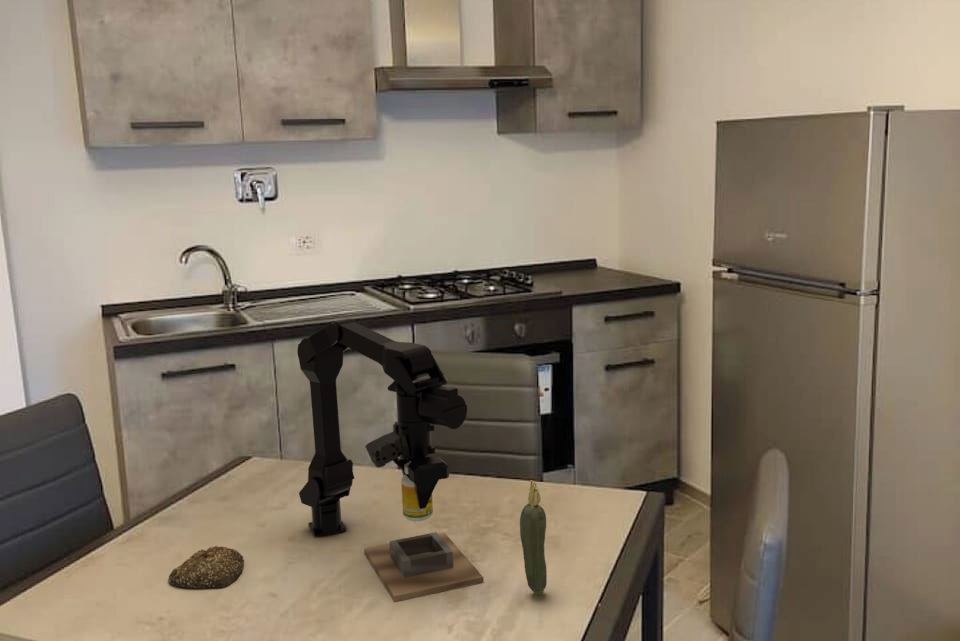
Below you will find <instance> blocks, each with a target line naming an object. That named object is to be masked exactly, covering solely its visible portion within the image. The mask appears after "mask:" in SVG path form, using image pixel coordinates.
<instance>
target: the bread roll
mask: <svg viewBox="0 0 960 641" xmlns="http://www.w3.org/2000/svg"><path fill="white" fill-rule="evenodd" d="M244 564H245V559H244V556H243V555H242V554H241V553H240V552H239V551H238V550H237V549H234V548H230V547H227V546H217V545H215V546H212V547H211V546H210V547H208V548H207V549H205V550H204V549H200V550H198V551H197V552H195V553H193V554H192V555H190V556H189V558H186V560H185V561H183V563H181V564H180V565H179V566H177V567H174V568H173V569H172V571H171V572H170V573H169V575H168V579H167V580H168V582H169V584H170V585H172V586H176V587H180V588H186V589H187V588H188V589H221V587H222V588H226V587H227V586H229V585H231V584H233V583H234V582H235V581H237V580H238V578H239V577H240V575H242V573H243V570H244ZM237 577H238V578H237Z"/></svg>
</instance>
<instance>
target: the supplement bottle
mask: <svg viewBox="0 0 960 641" xmlns="http://www.w3.org/2000/svg"><path fill="white" fill-rule="evenodd" d="M409 464H410V462H408V463H406V464H405V466H404V467H405V474H409V473H408V465H409ZM401 498H402V499H401V500H402V501H401V502H402V503H401V504H402V516H403V517H404V519H406V520H407V521H410V522H422V521H427V520H428V519H430V518H431V517H433V515H434V507H433V506H434V504H433V494H432V495H431V497H430V499H429V502H428V504H427V506H426V508H423V509H420V508H419V504H418V500H417V495H416V490H415V486H414V482H412V481H411V480H409V478H408V477H407V476H406V475H404V476H402V478H401Z"/></svg>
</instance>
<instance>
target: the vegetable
mask: <svg viewBox="0 0 960 641" xmlns="http://www.w3.org/2000/svg"><path fill="white" fill-rule="evenodd" d="M527 500H528V503H527V504H526V505H525V506H524V507H523V509H522V510H521V512H520V517H519V531H520V532H519V533H520V536H519V537H520V542H521V546H522V552H523V554H522V555H523V561H524V562H523V563H524V572H525V577H526V581H527V586H528V588H529V589H530V590H531V592H533V593H534V594H535V595H536V596H537V595H538V594H543V593H544V591H545V589H546V588H547V579H548V578H547V577H548V574H547V563H546V556H545V540H546V531H547V530H546V529H547V514H546V512H545V510H544V508H543V507H542V506H541V505H540V503H541V494H540V491H539V488H538V486H537V483H536V482H535V481H534V480H532V479H530V488H529V492H528V496H527Z"/></svg>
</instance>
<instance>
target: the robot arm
mask: <svg viewBox="0 0 960 641" xmlns="http://www.w3.org/2000/svg"><path fill="white" fill-rule="evenodd" d="M348 349H349V350H352V351H354V352H356V353H358V354H360V355H362V356H364V357H366V358H368V359H370V360H372V361H374V362H376V363H378V364H379V365H380V366H381V367H382V369H383V372H384V374H385V375H387V377H389V378H391V379H392V380H393V382H392V383H391V384H389V385H388V387H387V390H388V391H390V392H393V393H395V394H396V395H395V396H396V415H397V421H394V424H392V429H393V430H392V431H391V432H389V433H386V434H383V435H382V436H379V437H378V438H376V439H374V440H372V441H370V442H368V443H367V444H366V445H365V449H366V451H367V454H368V456H369V458H370V460H371V462H372V463H373V464H374V465H375V468H378V469H379V468H382V467H384V466H386V464H387V465H388V463H391V462H392V461H393V463H394V464H395V465H397V466H398V467H399V468H400V471H401V473H402V475H403V476H404V475H406V476H407V477H408V478H409V480H411V481H412V482H414V486H415V490H416V495H417V500H418V504H419V508H420V509H423V508H426V506H427V504H428V502H429V499H430V497H431V495H432V496H433V492H434V491H435V487H436V486H437V484H438V482H439V481H440V480H444V479H449V477H450V466H449V465H448V464H447V463H446V462H445V461H444V460H443V459H441V458H440V457H439V456H438V455H435V456H430V457H429V455H432V454H436V447H435V446H434V445H433V444H432V432H434V431H435V426H439V427H443V428H446V429H450V430H456V429H458V428H460V427H461V426H462V425H463V424H464V422H465V420H466V418H467V414H468V405H467V404H466V401H465V399H464V398H463V396H461V395H459V392H458V391H459V389H458V388H457V387H454V386H450V387H448V386H445V385H447V383H448V381H447V380H446V378H445V376H444V373H443V371H442V370H441V368H440V367H439V365H438V363H437V360H436V359H435V357H434V355H433V354H432V350H431V349H430V347H428V346H426V345H424V344H419V343H415V342H409V341H407V342H406V341H404V342H403V341H397V340H394V339H391V338H389V337H387V336H385V335H384V334H381V333H379V332H377V331H374V330H372V329H370V328H368V327H366V326H364V325H362V324H360V323H358V322H357V321H356V320H355V319H352V318H343V319H338V320H335V321H331V322H330V323H329V324H328V325H327V326H325V327H324V328H323V329H320V330H319V331H317V332H315V333H313V334H312V335H310V336H309V337H304V338H303V339H301V341H300V342H299V343H298V344H297V352H296V353H297V356H298V357H297V358H298V361H299V368H300V370H301V371H302V372H303V375H304V376H305V378H307V380H308V381H309V385H310V388H309V389H310V398H311V399H310V400H311V412H312V414H311V415H312V426H313V427H312V428H313V438H314V440H313V441H314V454H313V456H312V459H311V461H310V464H309V466H308V472H307V482H306V483H305V484H304V486H303V487H302V488H301V489H300V490H299V492H298V494H299V500H300V502H301V504H303V505H305V506H308V507H311V522H308V524H307V526H308V528H309V530H310V531H311V533H312V535H313V537H315V538H318V537H321V536H328V535H332V534H333V535H334V534H338V533H345V532H346V531H347V527H346V525H345V524H344V522H343V520H342V509H341V499H342V498H344V497H345V498H346V497H348V496H350V492H351V488H352V486H353V480H354V479H355V475H354V471H353V468H354V466H353V465H354V462H353V460H351V459H349V458H347V457H346V455H345V454H344V453H343V451H342V448H341V447H342V446H341V433H340V431H341V430H340V420H339V418H340V416H339V405H338V404H339V403H338V392H337V391H338V390H337V389H338V388H337V378H338V376H339V374H340V372H341V370H342V367H343V365H344V352H346V351H347V350H348ZM424 378H426V379H424ZM421 379H423V380H421ZM418 380H419V381H418ZM414 381H415V382H414ZM408 462H410V464H409V465H408V473H409V474H405V467H404V466H405V464H406V463H408ZM403 476H402V477H403Z"/></svg>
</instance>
